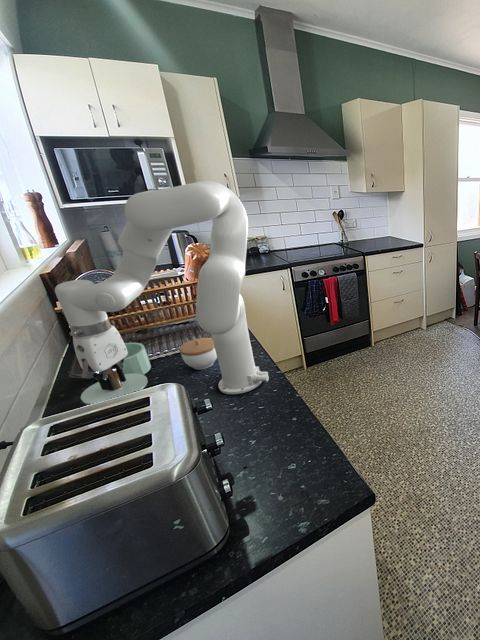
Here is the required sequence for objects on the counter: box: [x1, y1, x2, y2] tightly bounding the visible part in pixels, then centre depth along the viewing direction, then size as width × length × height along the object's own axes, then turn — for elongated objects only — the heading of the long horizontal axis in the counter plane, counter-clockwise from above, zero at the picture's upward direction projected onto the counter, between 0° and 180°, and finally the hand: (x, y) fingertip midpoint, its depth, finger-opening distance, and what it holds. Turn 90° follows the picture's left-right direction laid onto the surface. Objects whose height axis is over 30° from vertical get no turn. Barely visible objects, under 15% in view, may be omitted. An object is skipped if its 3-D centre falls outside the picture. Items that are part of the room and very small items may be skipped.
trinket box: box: [178, 337, 218, 371], centre depth 117 cm, size 11×11×9 cm
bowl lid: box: [80, 368, 149, 406], centre depth 98 cm, size 15×15×7 cm
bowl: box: [96, 342, 152, 382], centre depth 112 cm, size 14×14×8 cm
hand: (114, 384), depth 98 cm, fingers closed on bowl lid, 3 cm apart
